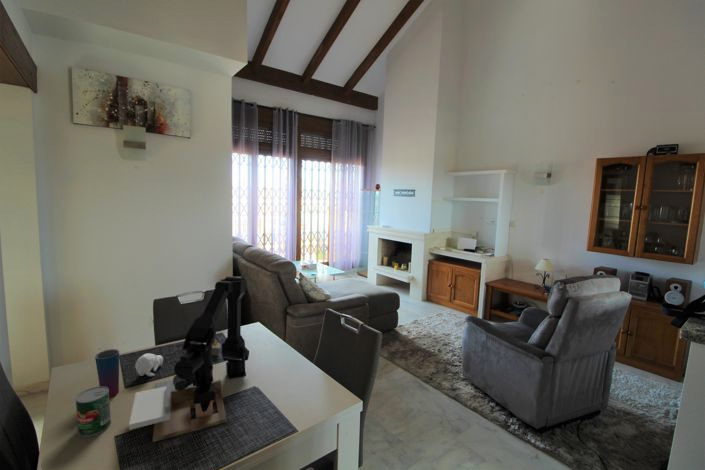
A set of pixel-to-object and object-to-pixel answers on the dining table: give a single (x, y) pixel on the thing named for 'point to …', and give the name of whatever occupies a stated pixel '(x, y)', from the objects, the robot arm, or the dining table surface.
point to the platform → (215, 348)
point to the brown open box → (188, 414)
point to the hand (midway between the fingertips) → (203, 406)
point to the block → (200, 413)
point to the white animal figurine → (148, 364)
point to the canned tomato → (93, 411)
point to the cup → (108, 370)
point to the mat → (166, 385)
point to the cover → (151, 407)
